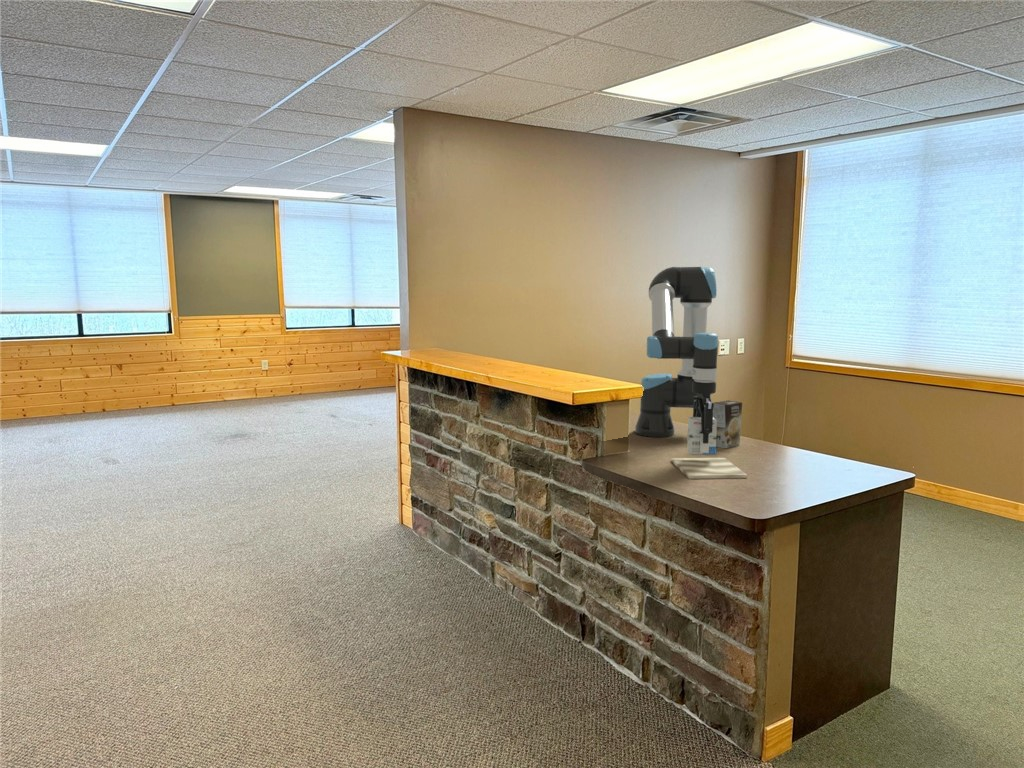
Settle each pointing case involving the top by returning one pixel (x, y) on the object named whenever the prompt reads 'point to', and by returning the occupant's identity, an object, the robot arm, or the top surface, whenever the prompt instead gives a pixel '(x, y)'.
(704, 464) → the cloth
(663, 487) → the top surface
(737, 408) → the coffee box
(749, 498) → the top surface
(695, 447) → the ink box
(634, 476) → the top surface
